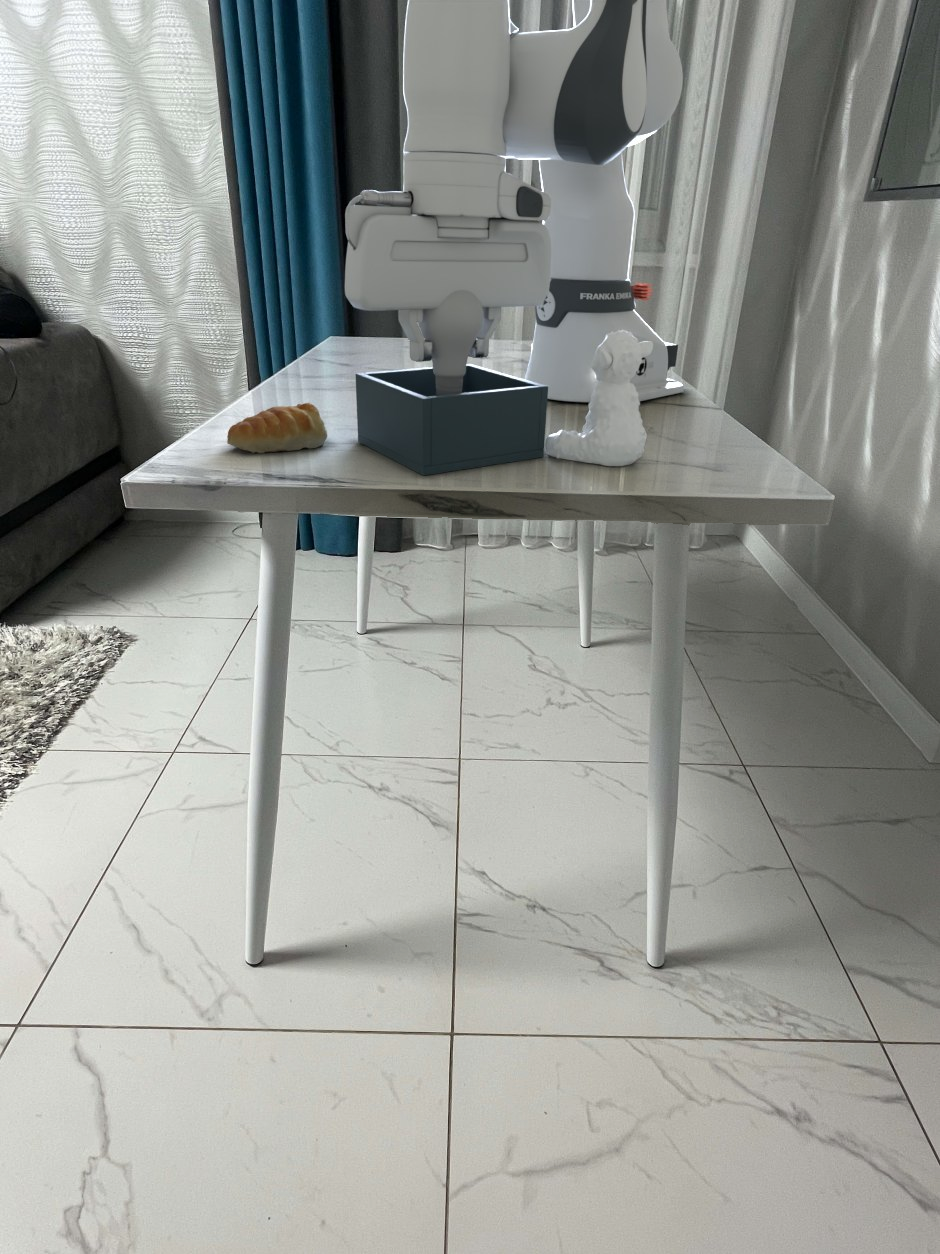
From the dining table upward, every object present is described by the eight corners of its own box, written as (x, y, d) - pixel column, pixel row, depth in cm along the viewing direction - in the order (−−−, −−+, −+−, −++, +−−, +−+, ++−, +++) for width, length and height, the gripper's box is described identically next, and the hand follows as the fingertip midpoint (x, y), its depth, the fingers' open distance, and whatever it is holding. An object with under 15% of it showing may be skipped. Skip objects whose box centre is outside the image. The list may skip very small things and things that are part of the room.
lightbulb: (491, 402, 80) (497, 281, 75) (457, 412, 75) (461, 284, 70) (440, 393, 83) (442, 277, 78) (404, 403, 78) (404, 279, 73)
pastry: (246, 460, 76) (241, 419, 74) (216, 445, 81) (211, 406, 79) (333, 445, 81) (331, 407, 79) (301, 432, 86) (298, 396, 84)
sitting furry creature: (611, 442, 85) (624, 321, 80) (672, 462, 79) (690, 332, 73) (540, 454, 80) (549, 326, 75) (599, 476, 74) (612, 338, 69)
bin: (469, 427, 90) (471, 363, 86) (543, 457, 79) (548, 386, 76) (357, 441, 83) (355, 373, 80) (423, 475, 73) (423, 399, 70)
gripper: (362, 188, 63) (366, 371, 70) (566, 199, 73) (553, 358, 80) (328, 188, 68) (335, 359, 74) (525, 198, 78) (516, 348, 84)
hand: (450, 358), depth 77 cm, fingers closed on lightbulb, 5 cm apart
